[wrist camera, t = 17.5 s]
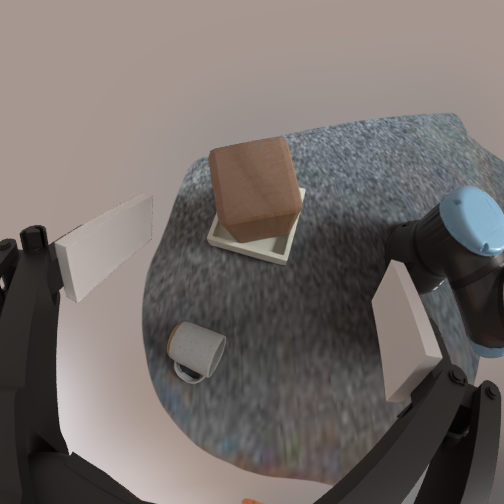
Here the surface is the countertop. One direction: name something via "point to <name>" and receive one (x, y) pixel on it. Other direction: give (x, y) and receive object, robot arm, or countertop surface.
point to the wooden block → (255, 189)
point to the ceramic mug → (195, 350)
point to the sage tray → (254, 242)
